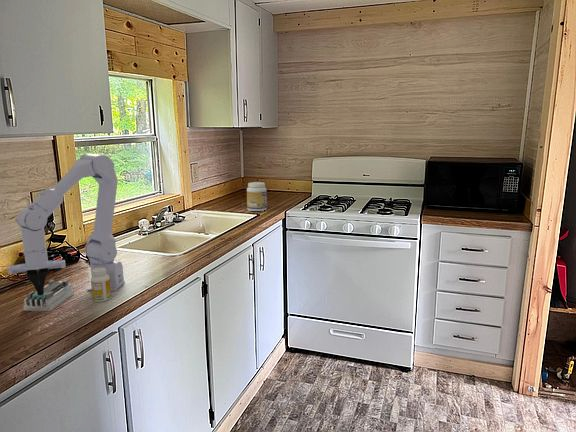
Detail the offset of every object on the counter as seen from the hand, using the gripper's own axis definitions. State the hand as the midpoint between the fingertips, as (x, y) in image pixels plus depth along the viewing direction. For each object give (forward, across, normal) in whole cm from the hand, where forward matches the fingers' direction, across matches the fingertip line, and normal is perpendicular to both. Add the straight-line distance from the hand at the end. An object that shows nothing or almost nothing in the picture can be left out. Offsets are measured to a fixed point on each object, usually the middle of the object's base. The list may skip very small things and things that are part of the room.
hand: (40, 293), depth 130 cm
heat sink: (+4, -2, -3) cm, 6 cm away
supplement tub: (+3, -106, -108) cm, 151 cm away
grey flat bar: (+1, -2, -4) cm, 4 cm away
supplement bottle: (+4, -16, +1) cm, 17 cm away
